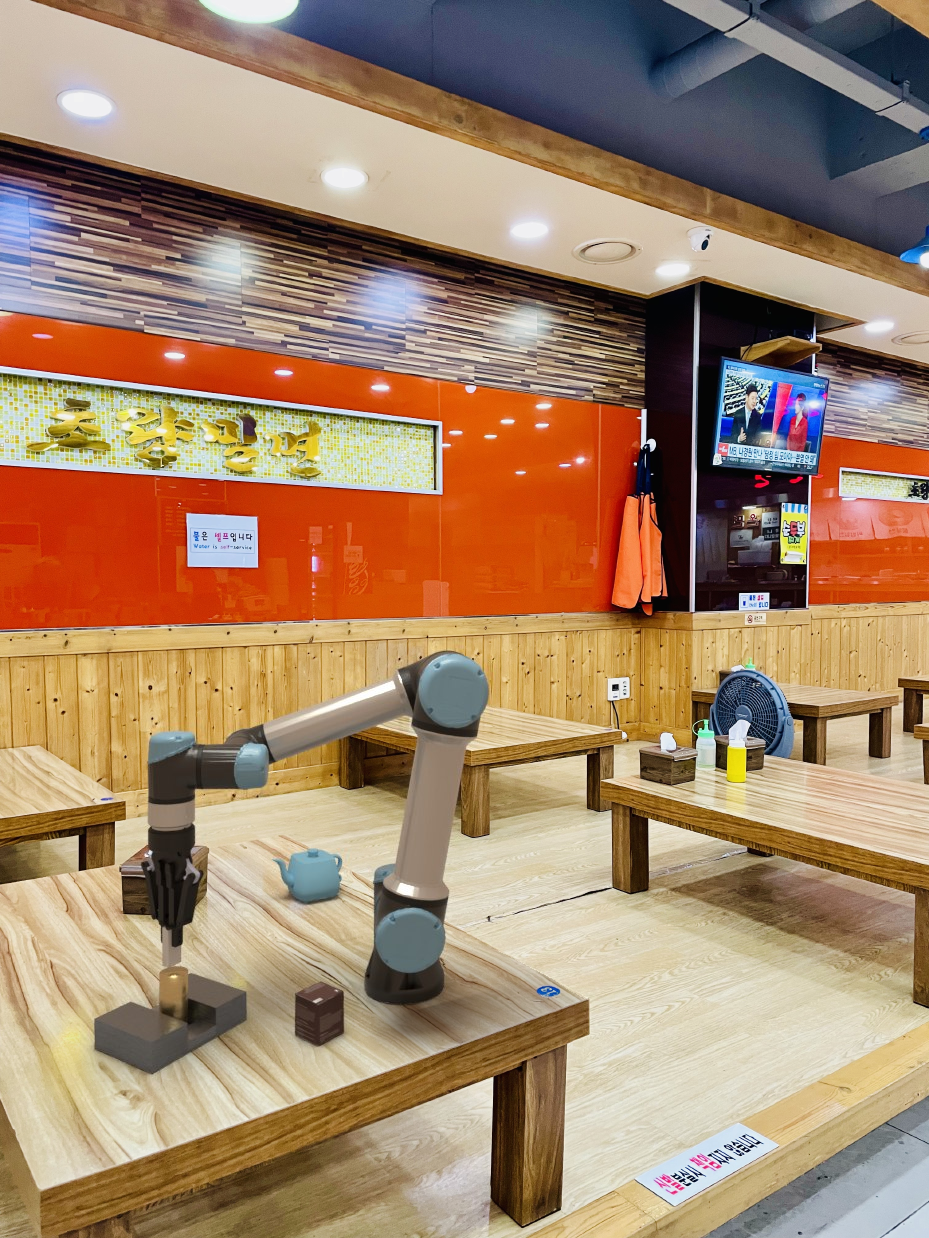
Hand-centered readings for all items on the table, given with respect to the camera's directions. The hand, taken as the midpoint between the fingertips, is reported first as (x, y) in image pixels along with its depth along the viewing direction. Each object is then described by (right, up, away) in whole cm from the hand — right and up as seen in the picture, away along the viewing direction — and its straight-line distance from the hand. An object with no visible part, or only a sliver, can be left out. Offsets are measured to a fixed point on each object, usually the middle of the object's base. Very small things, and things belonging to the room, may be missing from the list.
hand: (171, 963), depth 146 cm
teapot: (+11, -10, +66) cm, 68 cm away
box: (+25, -12, +1) cm, 28 cm away
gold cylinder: (0, -12, +1) cm, 12 cm away
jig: (0, -12, 0) cm, 12 cm away
